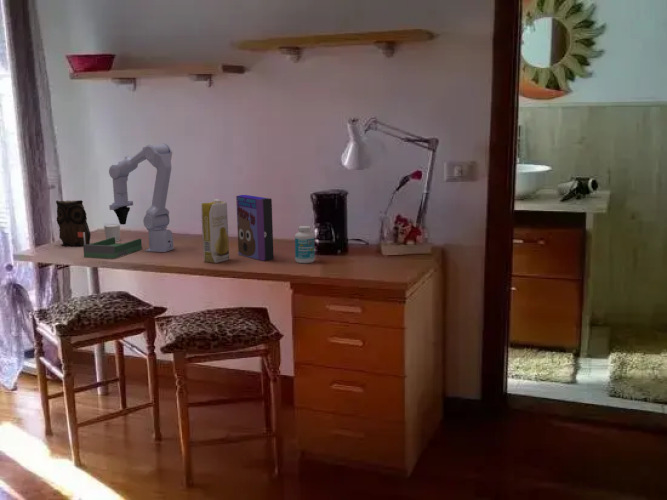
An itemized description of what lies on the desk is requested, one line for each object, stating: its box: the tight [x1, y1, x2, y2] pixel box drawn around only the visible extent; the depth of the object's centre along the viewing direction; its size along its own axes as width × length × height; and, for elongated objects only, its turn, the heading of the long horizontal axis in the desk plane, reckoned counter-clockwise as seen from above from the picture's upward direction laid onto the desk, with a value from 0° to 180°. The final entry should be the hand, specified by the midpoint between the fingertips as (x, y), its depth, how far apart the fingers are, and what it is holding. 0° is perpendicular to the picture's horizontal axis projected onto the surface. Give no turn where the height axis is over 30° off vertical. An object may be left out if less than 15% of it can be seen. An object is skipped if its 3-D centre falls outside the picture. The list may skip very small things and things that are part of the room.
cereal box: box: [235, 194, 274, 262], centre depth 296 cm, size 17×5×24 cm, turn 40°
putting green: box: [78, 232, 143, 260], centre depth 311 cm, size 16×20×10 cm
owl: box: [55, 199, 92, 248], centre depth 329 cm, size 13×13×20 cm
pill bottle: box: [294, 225, 316, 264], centre depth 287 cm, size 8×7×14 cm
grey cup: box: [103, 224, 121, 243], centre depth 339 cm, size 7×7×7 cm
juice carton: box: [200, 198, 230, 264], centre depth 291 cm, size 9×8×24 cm
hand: (122, 224), depth 325 cm, fingers closed
